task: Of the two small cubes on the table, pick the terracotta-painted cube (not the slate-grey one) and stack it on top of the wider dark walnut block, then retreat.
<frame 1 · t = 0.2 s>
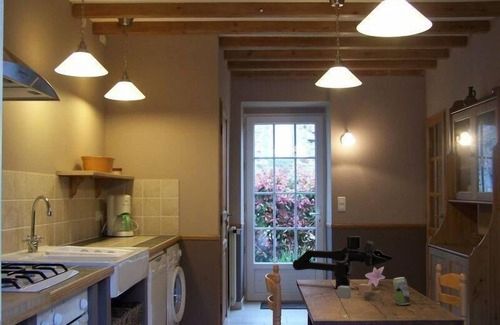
hand: (389, 259, 282), 17 cm above the table, tool horizontal, fingers open, 9 cm apart
slate-grey block: (344, 297, 269), on the table
lily: (375, 285, 305), on the table
beverage can: (401, 305, 249), on the table
terracotta block: (365, 294, 275), on the table
walnut block: (372, 300, 261), on the table
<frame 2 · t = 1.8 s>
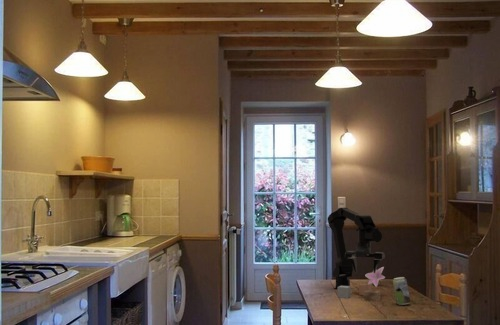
hand: (365, 272, 276), 11 cm above the table, tool pointing down, fingers open, 9 cm apart
nothing on the table moved.
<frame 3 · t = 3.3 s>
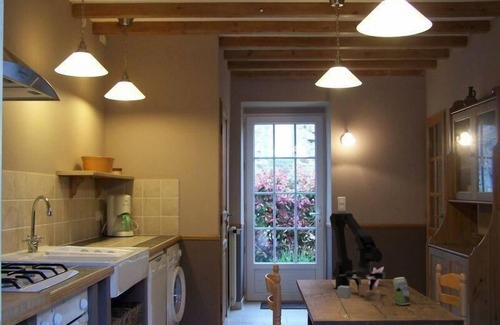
hand: (365, 292, 275), 1 cm above the table, tool pointing down, fingers closed on terracotta block, 5 cm apart
terracotta block: (365, 294, 275), on the table, touching gripper
everything else where it was.
when the fingers open (6 cm above the table, at t = 6.7 s): terracotta block drops 1 cm, resting on walnut block.
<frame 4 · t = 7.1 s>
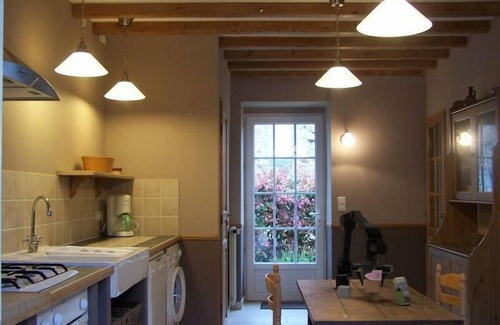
hand: (372, 286, 262), 6 cm above the table, tool pointing down, fingers open, 9 cm apart
terracotta block: (372, 291, 261), point 4 cm above the table, touching walnut block
walnut block: (372, 300, 261), on the table, touching terracotta block
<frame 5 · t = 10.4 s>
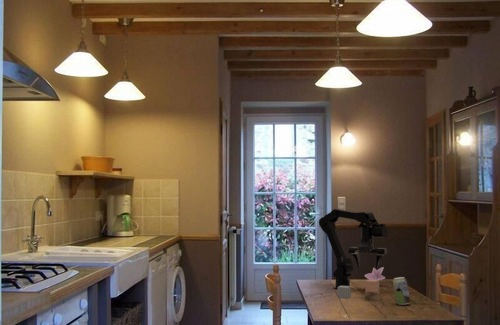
hand: (367, 267, 283), 12 cm above the table, tool pointing down, fingers open, 9 cm apart
at the end: terracotta block 0.1 cm off-centre on the walnut block, point 4.0 cm above the walnut block's base; terracotta block tilted 0°; the gripper is holding nothing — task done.
